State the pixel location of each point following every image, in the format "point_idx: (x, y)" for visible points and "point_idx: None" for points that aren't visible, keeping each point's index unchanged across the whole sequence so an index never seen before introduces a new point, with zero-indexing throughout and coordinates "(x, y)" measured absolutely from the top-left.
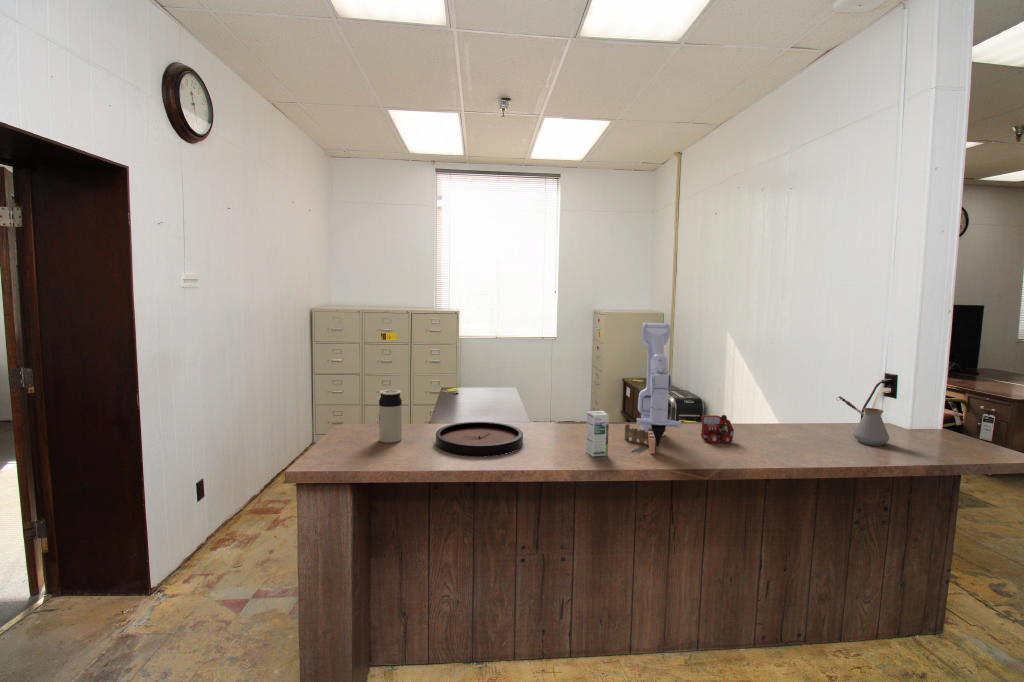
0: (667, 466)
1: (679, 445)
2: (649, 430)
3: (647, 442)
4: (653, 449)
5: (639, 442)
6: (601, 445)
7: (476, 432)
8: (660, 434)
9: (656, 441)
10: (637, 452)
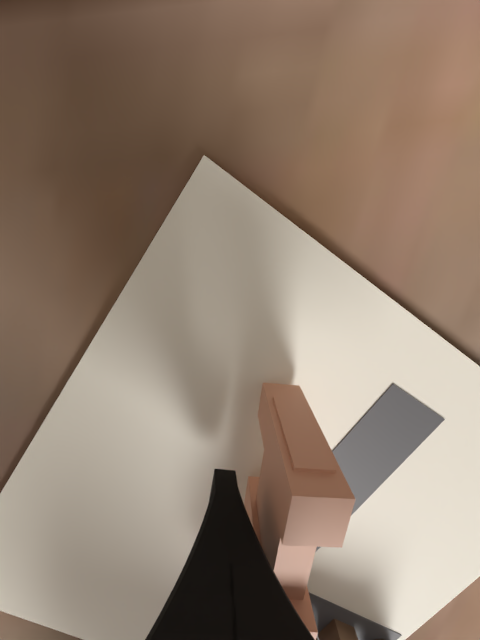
0: (198, 74)
1: (21, 623)
2: None
3: None
4: (281, 403)
5: None
6: None
7: None
8: (194, 628)
9: (245, 515)
10: (391, 414)
